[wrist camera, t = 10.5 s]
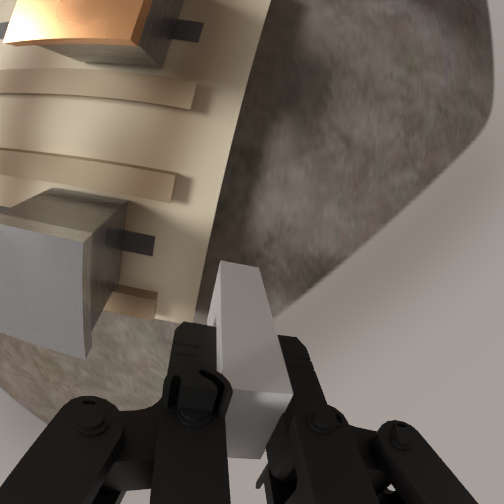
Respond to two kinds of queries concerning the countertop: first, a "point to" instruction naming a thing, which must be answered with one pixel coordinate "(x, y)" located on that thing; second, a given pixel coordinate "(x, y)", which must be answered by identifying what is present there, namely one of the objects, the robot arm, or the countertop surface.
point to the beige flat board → (135, 142)
